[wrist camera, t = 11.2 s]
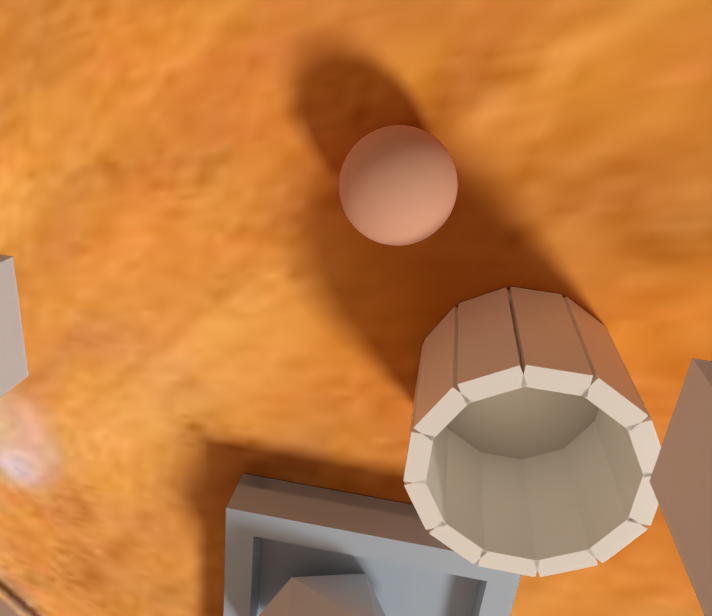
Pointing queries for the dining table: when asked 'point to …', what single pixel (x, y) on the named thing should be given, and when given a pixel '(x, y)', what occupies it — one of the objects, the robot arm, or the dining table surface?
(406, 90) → the dining table surface
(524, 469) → the cup
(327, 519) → the tray
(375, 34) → the dining table surface
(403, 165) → the ball
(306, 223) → the dining table surface
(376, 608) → the die
